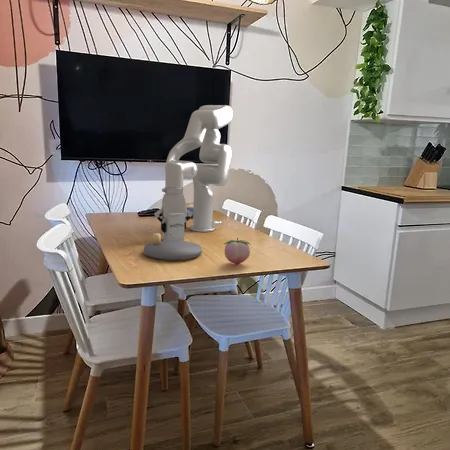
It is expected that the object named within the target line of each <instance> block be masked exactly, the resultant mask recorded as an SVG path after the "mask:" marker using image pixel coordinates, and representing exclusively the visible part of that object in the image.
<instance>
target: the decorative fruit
mask: <svg viewBox="0 0 450 450" xmlns="http://www.w3.org/2000/svg"><path fill="white" fill-rule="evenodd" d="M249 245H252V244H251V243H250V242H249V241H248V240H246V239H240V240H239V237H237V238H236V239H235V240H234V239H230V240H227V241H226V242H224V246H225V247H224V257H225V258H226V259H227V260H228V261H229V262H230V263H232V264H234V265H239V264H241V263H244V262H246V260H247V259H248V258H249V257H250V255H251V250H250V249H251V248H250V246H249Z"/></svg>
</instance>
